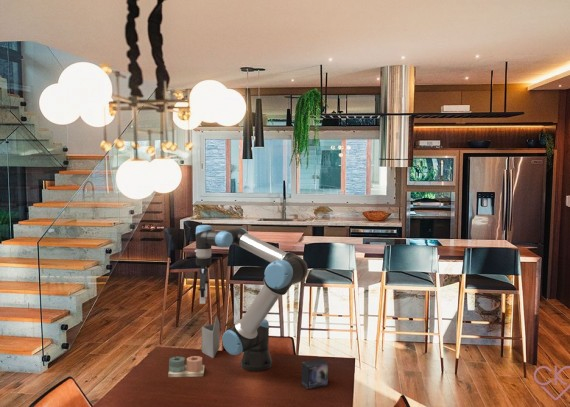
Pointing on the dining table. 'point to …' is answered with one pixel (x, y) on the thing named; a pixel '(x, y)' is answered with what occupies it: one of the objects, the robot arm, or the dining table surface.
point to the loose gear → (194, 364)
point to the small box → (314, 374)
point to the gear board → (187, 374)
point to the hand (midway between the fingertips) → (203, 300)
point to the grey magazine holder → (211, 338)
